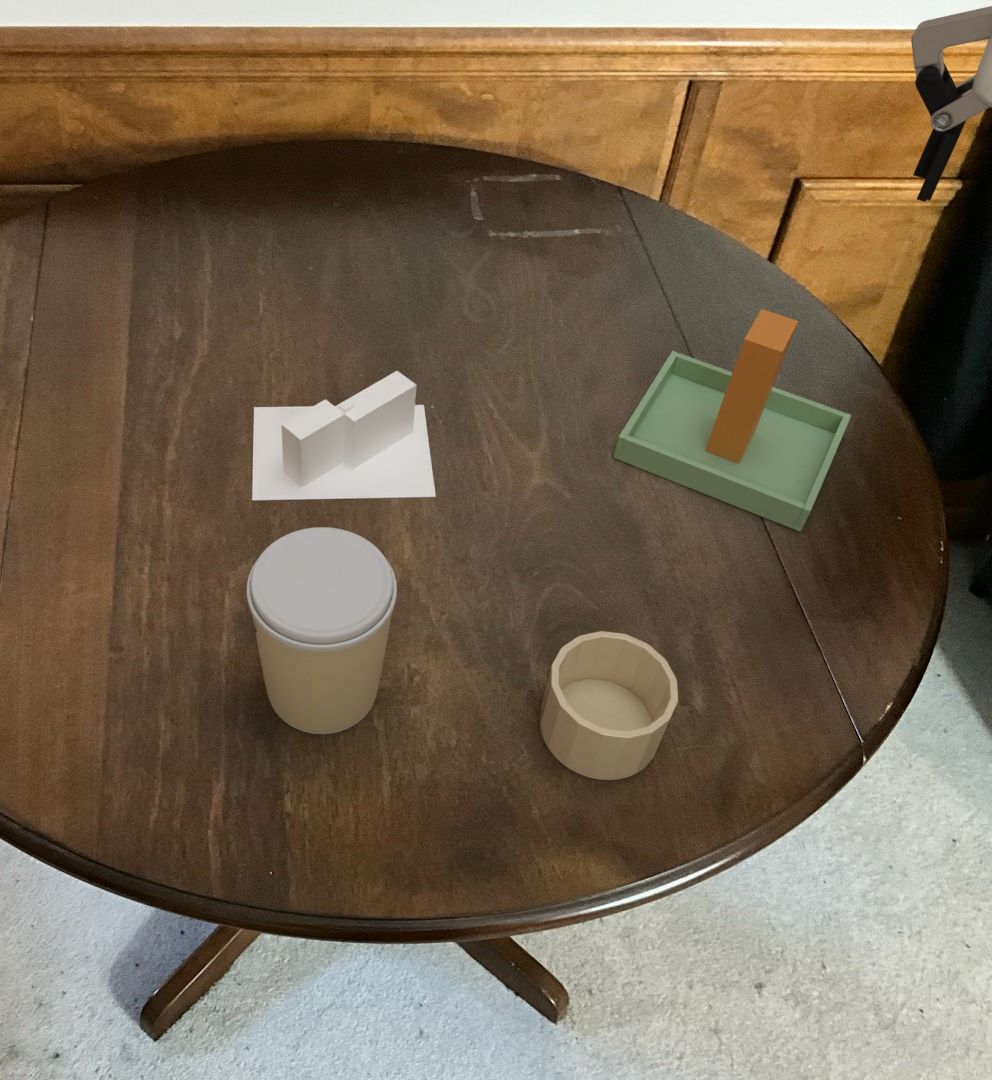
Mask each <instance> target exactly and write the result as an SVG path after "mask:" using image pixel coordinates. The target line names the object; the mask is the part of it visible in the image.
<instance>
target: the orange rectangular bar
mask: <svg viewBox="0 0 992 1080" xmlns="http://www.w3.org/2000/svg"><path fill="white" fill-rule="evenodd" d="M798 324H799V320H796V319H793V318H791V317H787V316H785V315H781V314H779V313H776V312H772V311H769V310H766V309H763V308H761V309H760V310H759V312H758V314H757V315H756V318H755V319H754V321H753V323H752V325H751V326H750V328H749V330H748V332H747V334H746V336H745V337H744V338H743V342H742V345H741V347H740V350H739V353H738V356H737V359H736V361H735V364H734V367H733V370H732V372H733V373H732V376H731V378H730V381H729V384H728V387H727V390H726V392H725V395H724V398H723V401H722V404H721V407H720V409H719V412H718V415H717V418H716V421H715V424H714V426H713V429H712V432H711V435H710V438H709V441H708V443H707V446H706V449H705V451H706V452H709V453H712V454H714V455H717V456H719V457H722V458H725V459H727V460H730V461H732V462H735V463H738V464H739V463H740V461H741V459H742V457H743V455H744V453H745V451H746V449H747V447H748V445H749V443H750V441H751V439H752V437H753V435H754V433H755V431H756V428H757V426H758V423H759V420H760V418H761V415H762V413H763V410H764V408H765V405H766V403H767V400H768V398H769V395H770V392H771V390H772V387H774V384H775V382H776V380H777V378H778V375H779V372H780V370H781V367H782V364H783V362H784V359H785V357H786V355H787V353H788V349H789V346H790V344H791V341H792V339H793V336H794V334H795V331H796V329H797V326H798Z"/></svg>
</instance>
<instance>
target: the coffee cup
mask: <svg viewBox="0 0 992 1080" xmlns="http://www.w3.org/2000/svg"><path fill="white" fill-rule="evenodd" d="M397 594H398V587H397V579H396V576H395V572H394V569H393V567H392V566H391V564H390V562H389V561H388V559H387V558H386V557H385V555H384V554H383V553H382V551H381V550H380V549H379V548H378V547H377V546H376V545H375V544H373V543H372V542H370V541H369V540H368V539H367V538H365V537H363V536H361V535H359V534H357V533H354V532H351V531H349V530H346V529H342V528H336V527H326V526H318V527H317V526H316V527H308V528H302V529H299V530H295V531H293V532H290V533H287V534H285V535H284V536H281V537H280V538H277V539H276V540H275V541H273V542H272V543H271V544H270V545H268V546H267V547H266V548H265V549H264V550H263V551H262V552H261V554H260V555H259V557H258V558H257V560H256V561H255V562H254V564H253V565H252V567H251V570H250V571H249V574H248V578H247V581H246V599H247V604H248V607H249V611H250V613H251V617H252V623H253V629H254V633H255V639H256V644H257V648H258V655H259V660H260V665H261V669H262V675H263V680H264V685H265V688H266V693H267V697H268V700H269V703H270V705H271V707H272V709H273V711H274V712H275V713H276V715H277V716H278V717H279V718H280V719H281V720H282V721H283V722H284V723H286V724H287V725H288V726H290V727H292V728H294V729H296V730H298V731H301V732H303V733H308V734H312V735H330V734H337V733H340V732H343V731H346V730H348V729H350V728H352V727H354V726H355V725H357V724H358V723H360V722H361V721H362V720H363V719H364V718H366V716H367V715H368V714H369V713H370V711H371V710H372V707H373V706H374V703H375V701H376V699H377V695H378V691H379V687H380V682H381V676H382V670H383V665H384V661H385V660H384V659H385V654H386V649H387V643H388V639H389V632H390V626H391V619H392V614H393V611H394V608H395V605H396V603H397Z"/></svg>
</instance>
